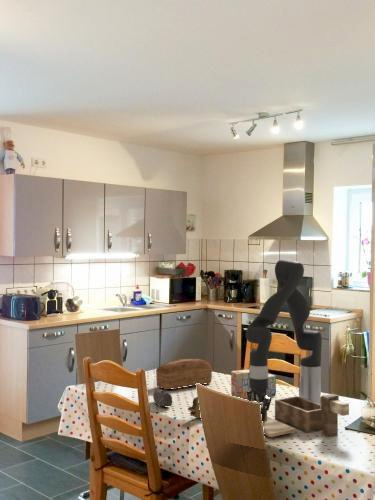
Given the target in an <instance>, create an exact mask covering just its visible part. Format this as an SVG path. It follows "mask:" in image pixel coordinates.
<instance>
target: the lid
mask: <svg viewBox="0 0 375 500" xmlns="http://www.w3.org/2000/svg"><path fill="white" fill-rule="evenodd" d="M261 407H263V405H262V406H261ZM263 427H264V433H265V434H264V436H267V437H269V438H271V437H272V438H273V437H278V436H282V435H286V434H292V433H296V430H297V428H294V427H292V426H290V425H287V424H285V423H283V422H280V421H278V420H276V419H275V418H271V417H269V416H268V411H265V420H264V421H263Z"/></svg>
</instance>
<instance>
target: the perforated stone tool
mask: <svg viewBox="0 0 375 500" xmlns="http://www.w3.org/2000/svg"><path fill="white" fill-rule="evenodd" d="M152 397H153V401H154V403H155V402H156V405H158V404H159V405H160V406H159V405H158V406H159V407H162V406H163V407H165V406H170V407H171V406H172V404H173V397H172V395H171V394H170V393H169V391H167V390H164V389H157V390H155V391H154V392H153V396H152ZM163 407H162V408H163Z"/></svg>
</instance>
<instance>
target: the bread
mask: <svg viewBox="0 0 375 500" xmlns="http://www.w3.org/2000/svg"><path fill="white" fill-rule="evenodd" d="M212 369H213V367H212V366H211V364H210V363H209V362H208V361H206V360H204V359H201V358H180V359H177V360H172V361H168V362H164V363H163V364H161V365H159V366H158V367H157V368H156V369H155V375H156V376H155V377H156V386H157V387H158V386H159V387H158V388H160V387H162V388H164V389H163V390H165V389H171V388H178V387H183V386H189V385H195V384H196V383H200V384H204V383H209V384H211V382H212V379H213V375H212ZM178 389H179V388H178Z"/></svg>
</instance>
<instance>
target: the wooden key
mask: <svg viewBox="0 0 375 500" xmlns="http://www.w3.org/2000/svg"><path fill="white" fill-rule="evenodd" d="M320 408H321V397H320ZM329 411H331V412H334V413H336V414H338V415H339V416H344V417H345V416H348V415H350V403H348V402H344V401H341V400H336V399H329Z"/></svg>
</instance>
